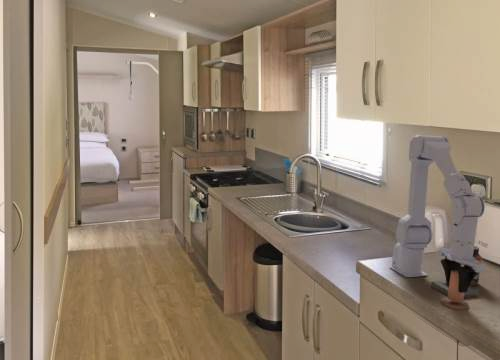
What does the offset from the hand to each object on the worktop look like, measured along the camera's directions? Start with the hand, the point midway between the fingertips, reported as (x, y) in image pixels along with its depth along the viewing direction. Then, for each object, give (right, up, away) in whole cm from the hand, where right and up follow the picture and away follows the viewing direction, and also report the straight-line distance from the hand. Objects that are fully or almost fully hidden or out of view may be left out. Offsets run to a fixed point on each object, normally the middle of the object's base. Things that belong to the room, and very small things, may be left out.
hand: (456, 288), depth 135 cm
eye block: (+4, -3, +11) cm, 12 cm away
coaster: (0, -4, +1) cm, 4 cm away
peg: (0, -3, +1) cm, 3 cm away
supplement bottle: (+11, -2, +18) cm, 22 cm away
